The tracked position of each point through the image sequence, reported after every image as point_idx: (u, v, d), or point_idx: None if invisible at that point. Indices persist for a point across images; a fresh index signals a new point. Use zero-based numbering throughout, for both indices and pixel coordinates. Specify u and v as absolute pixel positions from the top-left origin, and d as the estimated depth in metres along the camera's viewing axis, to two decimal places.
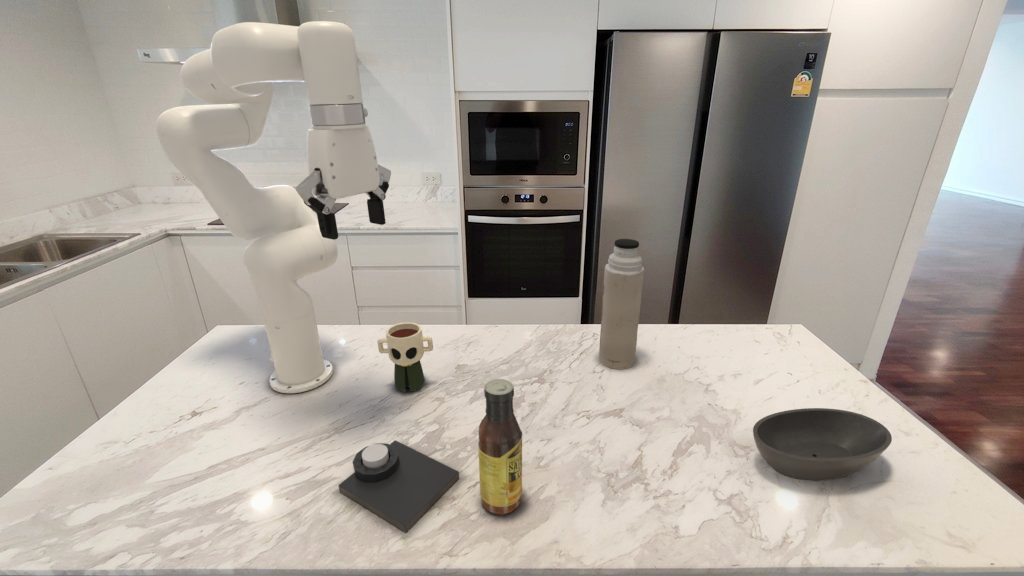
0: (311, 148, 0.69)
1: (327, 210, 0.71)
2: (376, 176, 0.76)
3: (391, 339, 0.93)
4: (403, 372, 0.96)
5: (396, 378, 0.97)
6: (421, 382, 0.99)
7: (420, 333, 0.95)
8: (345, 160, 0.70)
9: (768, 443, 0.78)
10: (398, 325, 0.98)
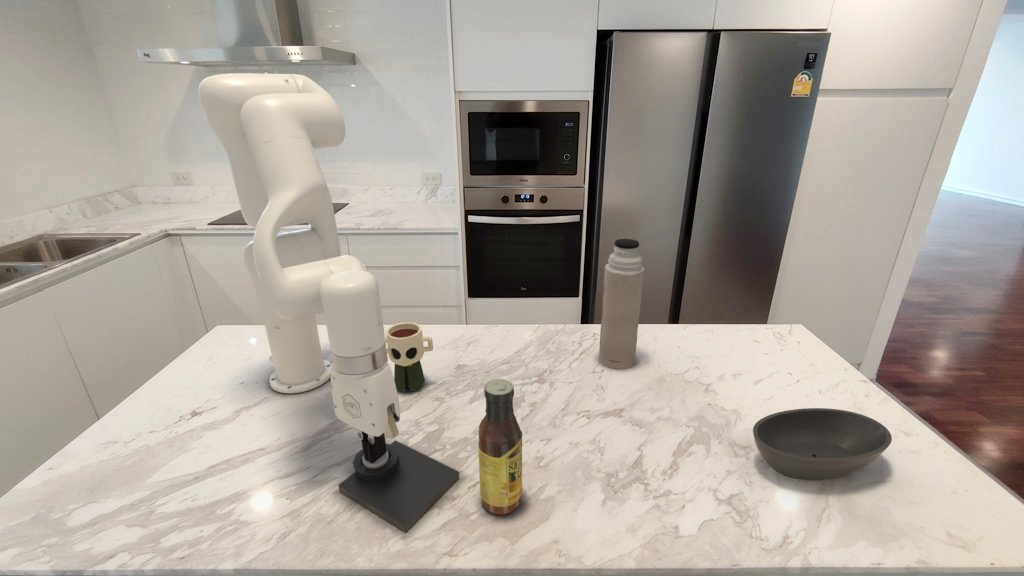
0: (382, 391, 0.67)
1: None
2: None
3: (391, 339, 0.93)
4: (403, 372, 0.96)
5: (396, 378, 0.97)
6: (421, 382, 0.99)
7: (420, 333, 0.95)
8: None
9: (768, 443, 0.78)
10: (398, 325, 0.98)
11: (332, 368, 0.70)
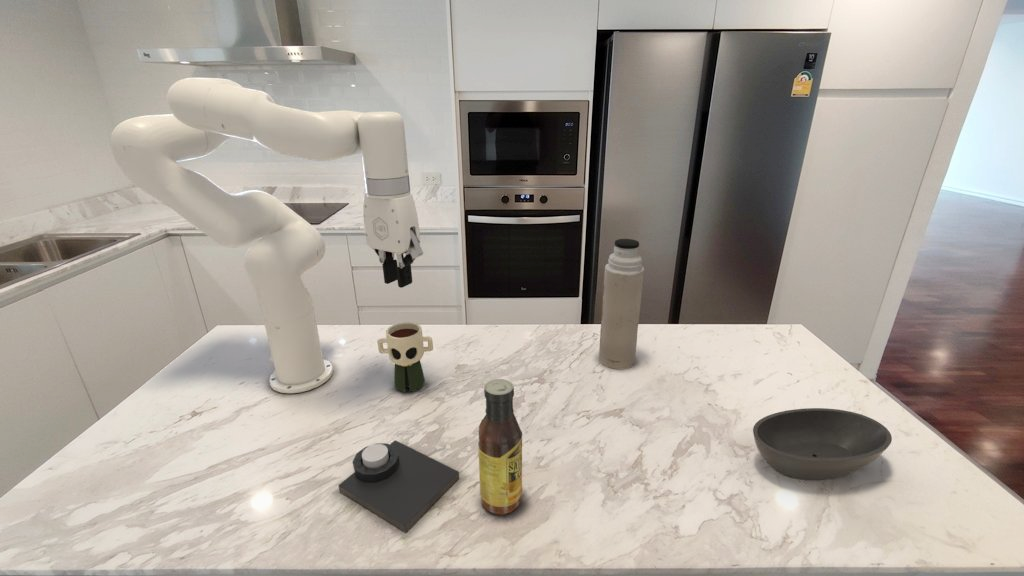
0: (407, 212, 0.83)
1: None
2: None
3: (391, 339, 0.93)
4: (403, 372, 0.96)
5: (396, 378, 0.97)
6: (421, 382, 0.99)
7: (420, 333, 0.95)
8: None
9: (768, 443, 0.78)
10: (398, 325, 0.98)
11: (365, 198, 0.85)
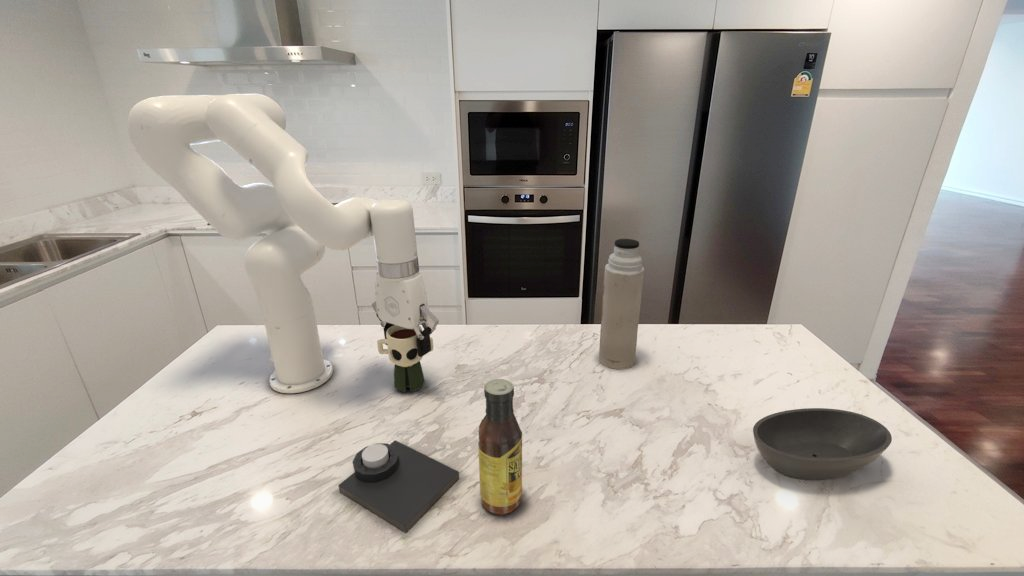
0: (416, 292, 0.89)
1: None
2: None
3: (392, 340, 0.92)
4: (403, 373, 0.96)
5: (396, 378, 0.97)
6: (421, 382, 0.99)
7: None
8: None
9: (768, 443, 0.78)
10: None
11: (377, 277, 0.91)
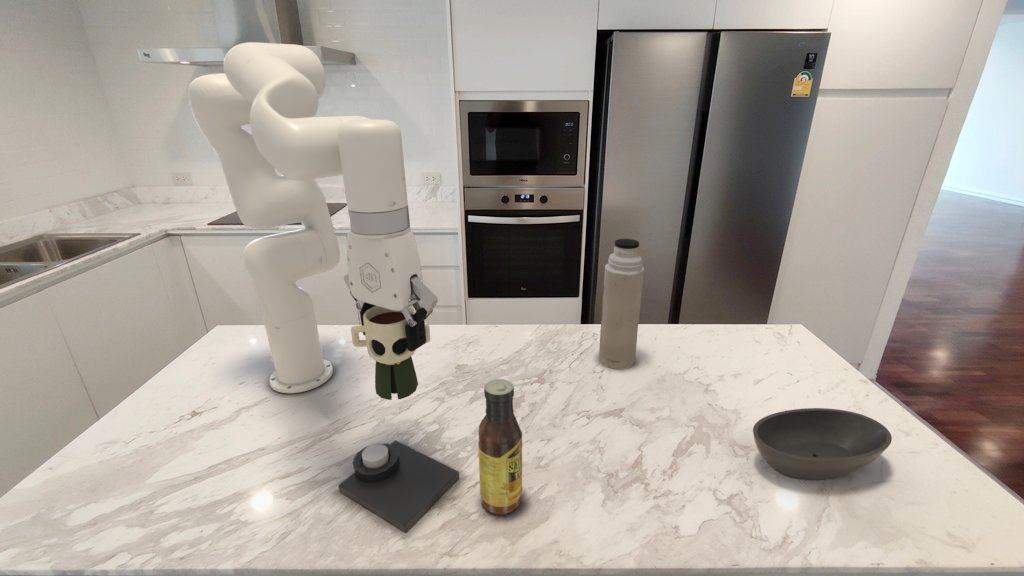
0: (406, 256, 0.61)
1: None
2: None
3: (371, 327, 0.64)
4: (388, 373, 0.68)
5: (378, 381, 0.69)
6: (414, 386, 0.71)
7: None
8: None
9: (768, 443, 0.78)
10: (380, 307, 0.69)
11: (348, 236, 0.63)
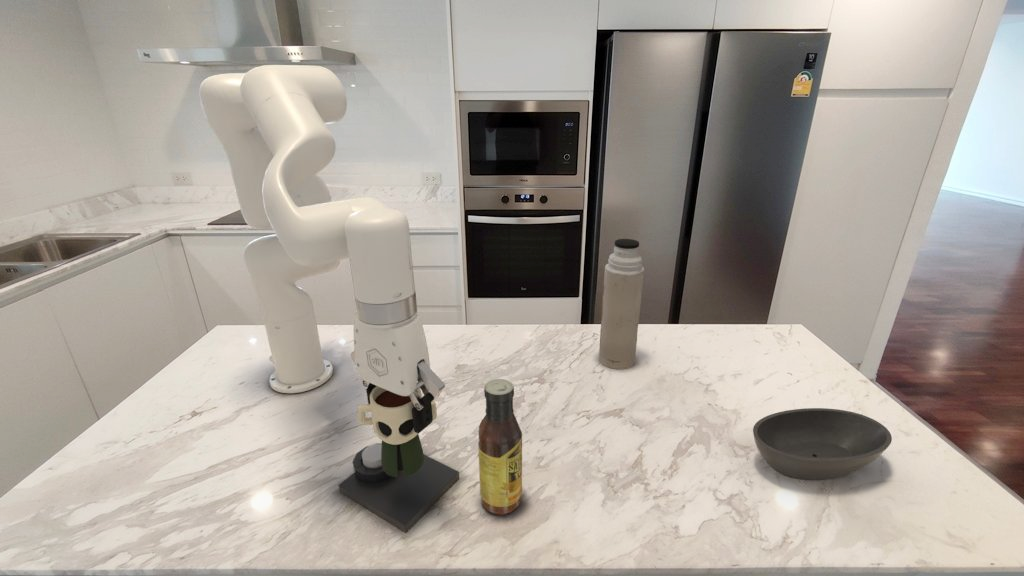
0: (413, 344, 0.60)
1: None
2: None
3: (378, 409, 0.64)
4: (395, 452, 0.68)
5: (384, 459, 0.69)
6: (420, 462, 0.70)
7: None
8: None
9: (768, 443, 0.78)
10: None
11: (355, 320, 0.63)
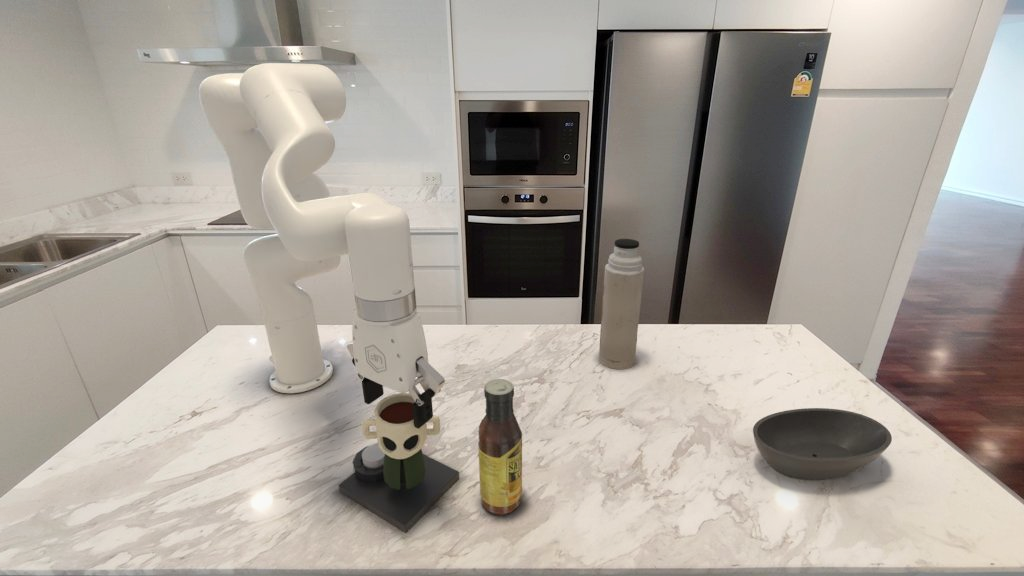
0: (412, 341, 0.60)
1: None
2: None
3: (383, 425, 0.65)
4: (398, 465, 0.69)
5: (387, 472, 0.70)
6: (422, 475, 0.71)
7: None
8: None
9: (768, 443, 0.78)
10: (391, 398, 0.70)
11: (354, 316, 0.62)
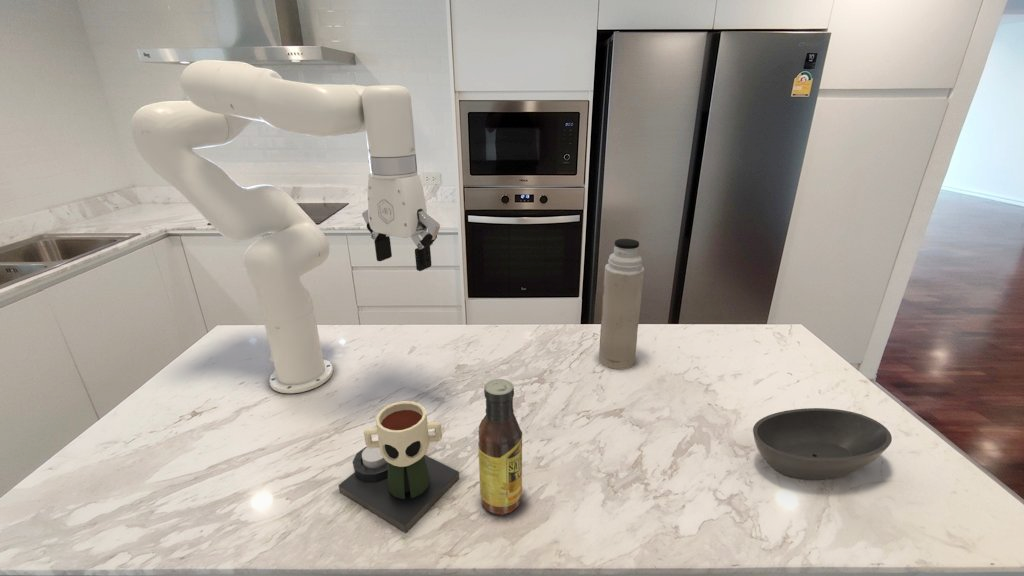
0: (414, 193, 0.78)
1: None
2: None
3: (385, 432, 0.65)
4: (401, 474, 0.69)
5: (391, 481, 0.70)
6: (426, 483, 0.71)
7: (425, 420, 0.68)
8: None
9: (768, 443, 0.78)
10: (392, 406, 0.70)
11: (369, 179, 0.80)
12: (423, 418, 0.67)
